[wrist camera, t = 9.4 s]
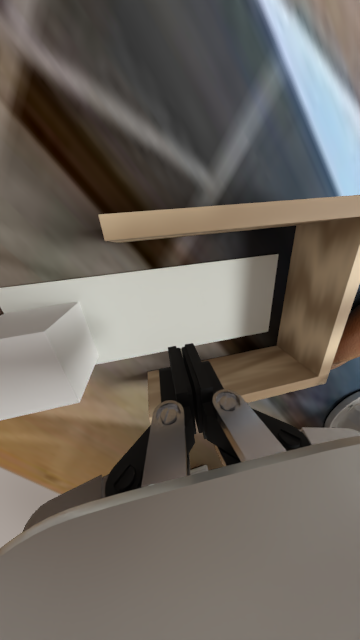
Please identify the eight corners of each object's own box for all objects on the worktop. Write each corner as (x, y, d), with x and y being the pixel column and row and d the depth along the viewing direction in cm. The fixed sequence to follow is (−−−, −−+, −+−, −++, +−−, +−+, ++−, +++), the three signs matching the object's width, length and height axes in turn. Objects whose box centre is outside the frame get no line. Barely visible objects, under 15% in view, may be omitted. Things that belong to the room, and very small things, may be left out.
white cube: (37, 367, 17) (-12, 423, 12) (5, 312, 15) (-75, 351, 9) (99, 355, 18) (79, 402, 13) (79, 301, 16) (44, 331, 10)
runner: (277, 253, 18) (278, 254, 17) (267, 330, 21) (268, 331, 21) (-8, 288, 14) (-10, 289, 14) (39, 374, 18) (38, 375, 18)
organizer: (115, 226, 14) (98, 214, 9) (309, 210, 17) (390, 192, 11) (149, 379, 21) (151, 426, 15) (283, 351, 23) (325, 383, 18)
